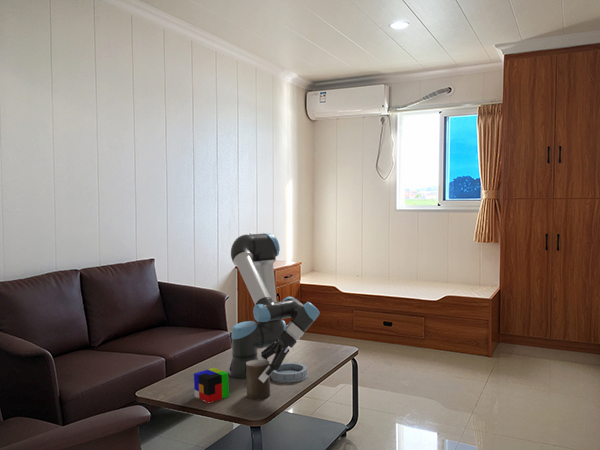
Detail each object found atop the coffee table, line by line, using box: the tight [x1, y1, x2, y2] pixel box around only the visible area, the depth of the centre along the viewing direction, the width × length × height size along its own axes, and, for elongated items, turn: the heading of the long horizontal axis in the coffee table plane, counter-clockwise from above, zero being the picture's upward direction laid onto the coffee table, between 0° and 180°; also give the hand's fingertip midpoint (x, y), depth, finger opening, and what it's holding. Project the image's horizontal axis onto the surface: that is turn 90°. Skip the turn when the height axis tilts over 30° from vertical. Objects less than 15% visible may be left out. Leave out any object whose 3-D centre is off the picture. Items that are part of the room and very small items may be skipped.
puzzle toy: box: [193, 367, 230, 403], centre depth 210 cm, size 10×10×10 cm
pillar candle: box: [245, 358, 271, 400], centre depth 210 cm, size 10×10×15 cm
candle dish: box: [270, 362, 309, 384], centre depth 232 cm, size 17×17×4 cm
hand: (256, 375), depth 209 cm, fingers open, 13 cm apart
